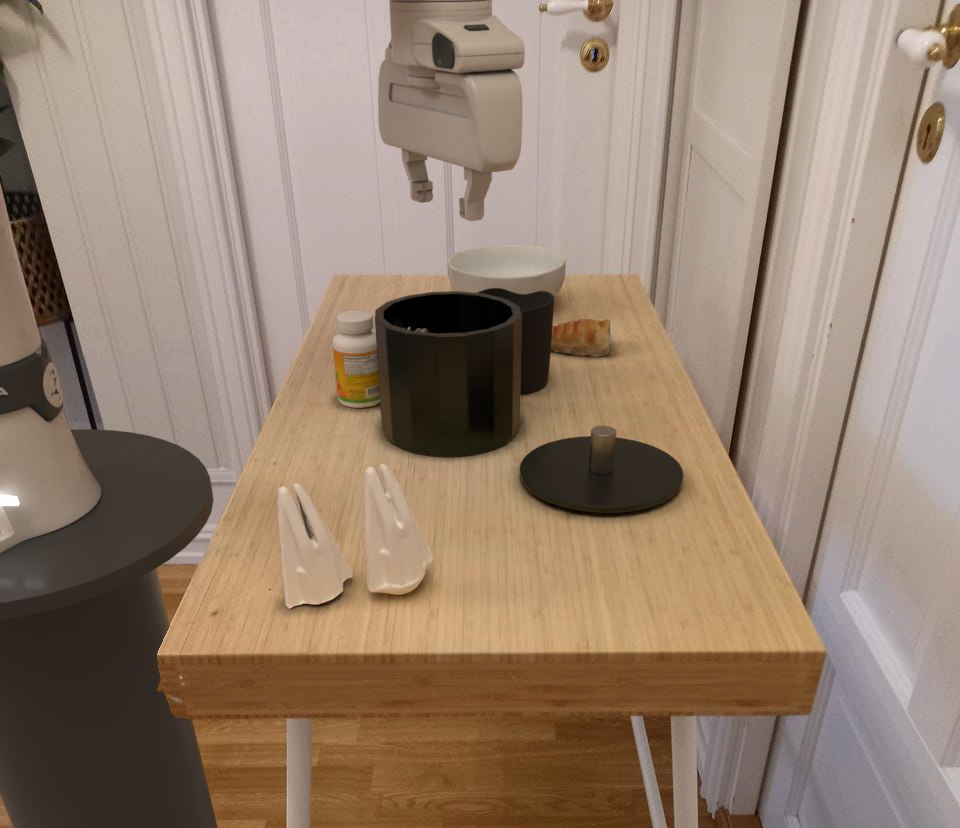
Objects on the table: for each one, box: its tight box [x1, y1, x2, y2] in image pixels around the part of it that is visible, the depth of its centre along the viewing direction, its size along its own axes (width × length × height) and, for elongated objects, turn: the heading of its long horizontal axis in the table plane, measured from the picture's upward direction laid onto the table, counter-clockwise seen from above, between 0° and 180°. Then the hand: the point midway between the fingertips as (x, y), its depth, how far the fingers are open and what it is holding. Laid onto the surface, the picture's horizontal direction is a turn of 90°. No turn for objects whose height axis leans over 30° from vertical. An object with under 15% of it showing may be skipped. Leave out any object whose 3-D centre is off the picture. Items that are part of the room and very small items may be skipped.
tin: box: [374, 290, 522, 458], centre depth 102 cm, size 15×15×12 cm
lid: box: [519, 425, 684, 514], centre depth 93 cm, size 16×16×5 cm
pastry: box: [551, 318, 613, 358], centre depth 125 cm, size 9×7×4 cm
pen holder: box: [477, 288, 555, 395], centre depth 113 cm, size 9×9×10 cm
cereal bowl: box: [447, 244, 566, 298], centre depth 138 cm, size 17×17×7 cm
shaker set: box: [277, 463, 434, 609], centre depth 75 cm, size 12×4×11 cm, turn 95°
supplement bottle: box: [332, 310, 381, 409], centre depth 109 cm, size 5×5×10 cm
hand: (445, 209), depth 92 cm, fingers open, 8 cm apart
